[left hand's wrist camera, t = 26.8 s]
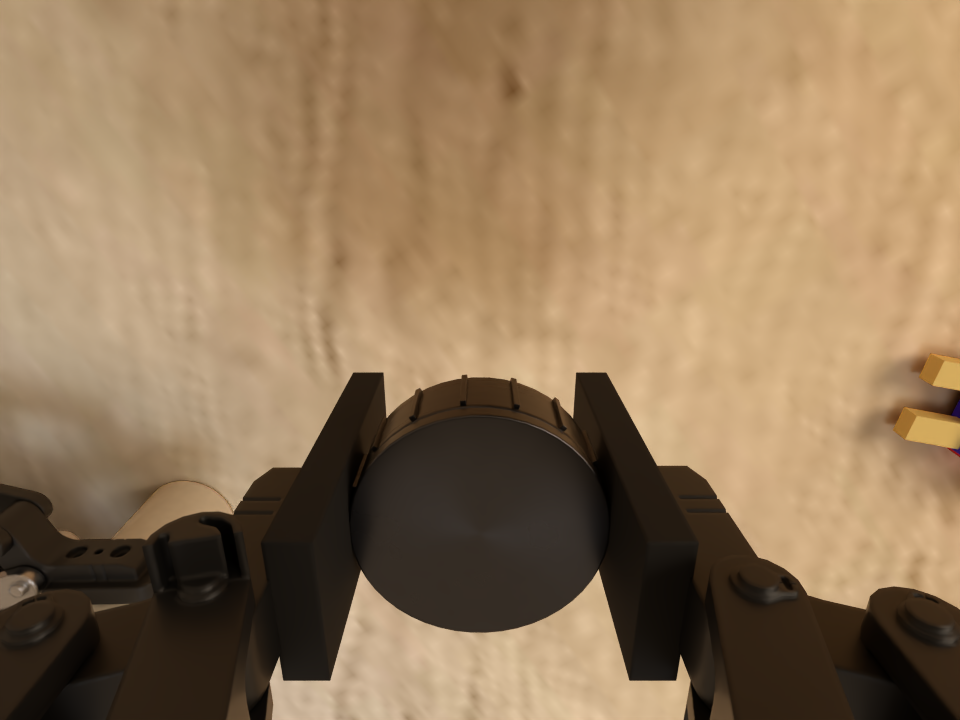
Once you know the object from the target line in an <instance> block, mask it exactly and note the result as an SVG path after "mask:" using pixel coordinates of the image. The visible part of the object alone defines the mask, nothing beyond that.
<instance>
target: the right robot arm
mask: <svg viewBox="0 0 960 720" xmlns="http://www.w3.org/2000/svg"><path fill="white" fill-rule="evenodd" d="M52 510H53V507H52V503H51V502H50V500H49V499H48V498H47V497H46V496H45V495H43V494H41V493H39V492H35V491H30V490H26V489H22V488H17V487H13V486H8V485H4V484H0V612H2V611H3V610H5V609H7V608H9V607H10V606H12V605H14V604H16V603H18V602H20V601H22V600H24V599H26V598H29V597H32V596H35V595H37V594H40V593H44V592H47V591H54V590H62V589H70V590H76V591H82V592H83V593H84V594H85V595H86V596H88V597H89V598H90V600H91V603H92V605H97V604H132V603H136V602H140V601H143V600H146V599H150V598H152V597H153V594H154V592H153V588H152V584H151V581H150V577H149V573H148V569H147V565H146V561H145V557H144V553H143V549H142V546H143V544H144V543H145V542H146V540H145V539H141V538H139V539H125V540H124V539H115V540H113V539H88V540H80V539H79V538H78V537H77V536H76V535H75V534H73V533H72V532H69V531H65V530H60V531H57V530H56V529H55V528H54V526H53V525H52V524H51V523H50V521H49V520H48V519H47V517H48V516H49V515H50V514H51V513H52Z"/></svg>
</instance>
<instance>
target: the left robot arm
mask: <svg viewBox="0 0 960 720" xmlns="http://www.w3.org/2000/svg"><path fill="white" fill-rule="evenodd" d="M383 417H386V405H385V390H384V374H383V373H353V374H352V376H351V378H350V380H349V382H348V383H347V385H346V387H345V389H344V391H343V393H342V394H341V396H340V398H339V400H338V402H337V404H336V405H335V407H334V409H333V411H332V413H331V415H330V416H329V418H328V420H327V422H326V424H325V426H324V427H323V429H322V431H321V433H320V435H319V437H318V438H317V440H316V442H315V444H314V446H313V448H312V449H311V451H310V453H309V455H308V457H307V459H306V460H305V462H304V464H303V466H302V468H272V469H271V470H269V471H268V472H266V473H265V474H264V475H262V476H261V477H260V478H258V479H257V480H255V481H254V482H253V484H252V485H251V487H250V488H249V490H248V491H247V493H246V494H245V496H244V497H243V501H241V502H240V503H239V505H238V506H237V508H236V509H235V511H234V515H231V514H228V513H224V512H220V511H216V512H200V513H195V514H191V515H187V516H183V517H181V518H178V519H176V520H174V521H172V522H169V523H167V524H165V525H164V526H162V527H161V528H159V529H158V530H157V531H155V532H154V533H153V534H151V535H150V536H149V538H148V539H147V540H146V542H145V543H144V544H143V546H142V549H143V553H144V557H145V561H146V565H147V569H148V573H149V577H150V581H151V584H152V588H153V592H154V594H153V597H152V598H150V599H146V600H143V601H140V602H136V603H132V604H127V605H123V606H119V607H114V608H110V609H106V610H101V611H97V612H94V610H93V607H92V603H91V600H90V598H89V597H88V596H86V595H85V594H84V593H83V592H82V591H76V590H70V589H62V590H54V591H47V592H44V593H41V594H37V595H35V596H32V597H29V598H26V599H24V600H22V601H20V602H18V603H16V604H14V605H12V606H10V607H9V608H7V609H5V610H3V611H2V612H0V720H272V711H273V700H272V693H271V687H270V682H269V681H270V679H271V676H272V674H273V671H274V669H275V666H276V663H277V661H278V658H279V657H280V663H281V669H282V675H283V681H330V679H331V676H332V672H333V668H334V665H335V661H336V657H337V654H338V650H339V647H340V643H341V639H342V636H343V632H344V629H345V625H346V621H347V618H348V614H349V611H350V607H351V603H352V600H353V596H354V593H355V589H356V585H357V582H358V578H359V575H360V571H361V568H360V567H359V565H358V562H357V560H356V557H355V555H354V552H353V548H352V544H351V536H350V526H349V512H350V506H351V502H352V497H353V494H354V491H353V490H352V485H353V483H354V480H355V477H356V475H357V472H358V469H359V466H360V464H361V461H362V458H363V456H364V454H368V452H369V449H370V447H371V444H372V442H373V439H374V437H375V435H376V432H377V430H378V427H379V424H380V421H381V419H382V418H383ZM573 420H574V421H575V422H576V424H577V425H578V426H579V428H580V429H581V431H584V430H586V432H587V434H588V436H589V439H590V442H591V444H592V447H593V450H594V453H595V455H596V458H597V461H598V463H599V465H597V466H596V468H597V470H598V473H599V476H600V479H601V482H602V484H603V487H604V490H605V493H606V496H607V499H608V504H609V509H610V532H609V542H608V546H607V550H606V554H605V556H604V559H603V561H602V563H601V565H600V568H599V572H600V576H601V579H602V583H603V587H604V590H605V594H606V597H607V601H608V605H609V608H610V612H611V615H612V619H613V623H614V626H615V630H616V633H617V637H618V641H619V644H620V648H621V652H622V655H623V659H624V662H625V666H626V670H627V673H628V677H629V680H630V681H676V679H677V673H678V667H679V661H680V654H681V656H682V659H683V662H684V664H685V667H686V669H687V672H688V674H689V677H690V679H691V682H690V687H689V693H688V698H687V704H686V710H685V715H684V720H960V610H959V609H958V608H957V607H955V606H953V605H951V604H949V603H947V602H945V601H943V600H942V599H940V598H938V597H936V596H933V595H930V594H928V593H924V592H921V591H918V590H915V589H909V588H902V587H888V588H881V589H878V590H877V591H876V592H875V593H873V594H872V595H871V596H870V599H869V602H868V605H867V608H866V610H865V609H860V608H856V607H852V606H847V605H843V604H838V603H834V602H830V601H825V600H821V599H818V598H815V597H811V596H808V595H807V593H806V591H805V590H804V588H803V587H802V585H801V584H800V582H799V581H798V579H796V578H795V577H794V576H793V575H791V574H790V573H789V572H788V571H787V570H785V569H784V568H782V567H780V566H778V565H776V564H774V563H772V562H770V561H768V560H765V559H761V558H758V557H757V555H756V554H755V552H754V551H753V549H752V548H751V546H750V545H749V543H748V542H747V540H746V539H745V537H744V536H743V534H742V533H741V531H740V530H739V528H738V527H737V525H736V524H735V522H734V521H733V519H732V518H731V516H730V515H729V513H726V509H725V507H724V506H723V504H722V503H721V501H720V500H719V499H717V495H716V494H715V492H714V491H713V489H712V488H711V486H710V485H709V483H708V482H707V480H706V479H704V478H703V477H701V476H700V475H699V474H697V473H696V472H695V471H693V470H692V469H690V468H689V467H688V466H657V465H656V463H655V461H654V459H653V457H652V456H651V454H650V452H649V450H648V448H647V446H646V445H645V443H644V441H643V439H642V437H641V435H640V434H639V432H638V430H637V428H636V426H635V424H634V423H633V421H632V419H631V417H630V415H629V413H628V412H627V410H626V408H625V406H624V404H623V402H622V401H621V399H620V397H619V395H618V393H617V391H616V390H615V388H614V386H613V384H612V382H611V380H610V379H609V377H608V375H607V373H576V384H575V400H574V415H573Z"/></svg>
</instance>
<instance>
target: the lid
mask: <svg viewBox="0 0 960 720" xmlns="http://www.w3.org/2000/svg"><path fill="white" fill-rule="evenodd" d="M597 465H599V463H598V461H597V458H596V455H595V453H594V450H593V447H592V444H591V442H590V439H589V436H588V434H587V432H586V430H584V431H581V429H580V428H579V426H578V425H577V424H576V422H575V421H574V420H573V418H572V417H571V416H570V415H569V414H568V413H567V412H566V411H565V410H564V409H563V408H562V407H561V406H560V402H559V400H558V399H557V398H554V399H553V400H552V399H550V398H549V397H548V396H546V395H544V394H542V393H540V392H539V391H537V390H535V389H532V388H530V387H527V386H525V385H522V384H520V383H517V381H516V379H514V378H511V380H510V381H508V380H503V379H496V378H474V377H473V378H467V375H462V379H456V380H452V381H448V382H443V383H440V384H437V385H435V386H432V387H429V388H427V389H425V390H423V391H422V390H421V389H420V388H419V389H417V390H416V391H415V395H414V396H412V397H411V398H409V399H408V400H406V401H405V402H404V403H402V404H401V405H400V406H399V407H398V408H397V409H395V410H394V411H393V412H392V413H391V414H390V415H389V417H388V418H386V417H383V418H382V419H381V421H380V424H379V427H378V430H377V432H376V435H375V437H374V439H373V442H372V444H371V447H370V449H369V452H368V454H364V456H363V458H362V461H361V464H360V466H359V469H358V472H357V475H356V477H355V480H354V483H353V485H352V490H353V491H354V494H353V497H352V502H351V506H350V512H349V526H350V536H351V544H352V548H353V552H354V555H355V557H356V560H357V562H358V565H359V567H360V568H361V570H362V572H363V573H364V575H365V577H366V578H367V580H368V581H369V582H370V583H371V585H372V586H373V587H374V588H375V590H376V591H377V592H378V593H380V594H381V595H382V596H383V597H384V598H385V599H386V600H387V601H388V602H390V603H391V604H392V605H394V606H395V607H396V608H398V609H399V610H401V611H403V612H404V613H406V614H408V615H409V616H411V617H413V618H416V619H418V620H420V621H422V622H425V623H428V624H431V625H434V626H437V627H440V628H445V629H449V630H454V631H462V632H484V633H487V632H497V631H505V630H510V629H515V628H519V627H523V626H526V625H529V624H532V623H535V622H537V621H539V620H542V619H544V618H546V617H548V616H550V615H552V614H553V613H555V612H557V611H559V610H560V609H562V608H563V607H565V606H566V605H567V604H569V603H570V602H571V601H573V600H574V599H575V598H576V597H577V596H578V595H579V594H580V593H581V592H582V591H583V590H584V589H585V588H586V586H587V585H588V584H589V583H590V582H591V580H592V579H593V577H594V576H595V574H596V573H597V571H598V569H599V568H600V565H601V563H602V561H603V559H604V556H605V554H606V550H607V546H608V542H609V532H610V509H609V504H608V499H607V496H606V493H605V490H604V487H603V484H602V482H601V479H600V476H599V473H598V470H597V468H596V466H597Z"/></svg>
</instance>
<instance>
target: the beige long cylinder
mask: <svg viewBox="0 0 960 720" xmlns="http://www.w3.org/2000/svg"><path fill="white" fill-rule="evenodd" d="M216 511H220V512H224V513H228V514H231V515H233V513H232V510H231V508H230V506H229V504H228V503H227V502H226V500H225V499H224V498H223V497H222V496H221V495H220V494H219V493H217V492H216V491H215V490H213V489H211V488H210V487H208V486H205V485H203V484H200V483H197V482H192V481H175V482H171V483H168V484H165V485H163V486H161V487H160V488H158V489H157V490H156V491H155V492H154V493H153V494H152V495H151V496H150V497H149V498H148V499H147V500H146V502H145V503H144V504H143V505H142V506H141V507H140V508H139V509H138V510H137V511H136V512H135V513H134V515H133V516H132V517H131V518H130V519H129V520H128V521H127V522H126V523H125V524H124V525H123V526H122V528H121V529H120V530H119V531H118V532H117V533H116V534H115V535H114V536H113V537H112V538H111V539H113V540H115V539H124V540H125V539H139V538H141V539H145V540H147V539H148V538H149V536H150V535H151V534H153V533H154V532H155V531H157V530H158V529H159V528H161V527H162V526H164V525H165V524H167V523H169V522H172V521H174V520H176V519H178V518H181V517H183V516H187V515H191V514H195V513H200V512H216ZM123 605H127V604H97V605H92V607H93V610H94V612H97V611H101V610H106V609H110V608H114V607H119V606H123Z"/></svg>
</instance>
